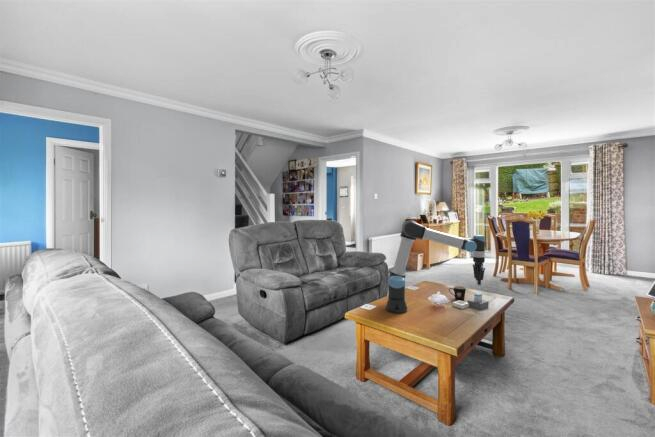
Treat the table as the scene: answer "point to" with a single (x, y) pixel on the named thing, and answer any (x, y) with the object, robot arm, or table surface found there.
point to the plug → (477, 297)
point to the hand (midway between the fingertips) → (478, 288)
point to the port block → (478, 304)
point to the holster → (460, 304)
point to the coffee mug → (459, 292)
